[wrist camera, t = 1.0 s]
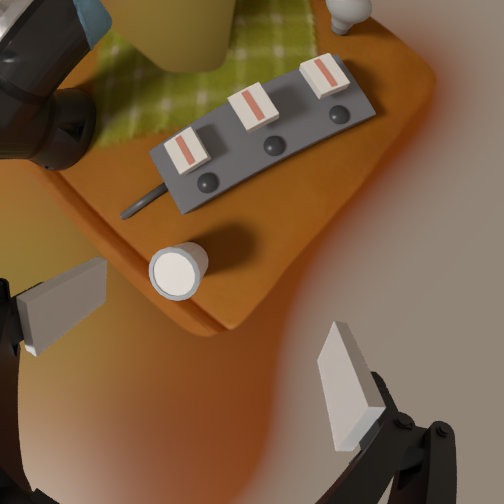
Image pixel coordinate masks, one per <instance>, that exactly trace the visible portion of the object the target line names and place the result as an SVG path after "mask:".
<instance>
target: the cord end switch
mask: <svg viewBox="0 0 504 504" xmlns="http://www.w3.org/2000/svg"><path fill="white" fill-rule="evenodd" d="M164 146H165V148H166V150H167V152H168V154H169V155H170V157H171V159H172V161H173V163H174V165H175V167H176V168H177V170H178V172H179V174H180V175H186V174H188V173H189V172H191V171H193V170H194V169H196V168H197V167H199V166H201V165H202V164H204V163H206V162H207V161H209V160H211V157H210V155H209V153H208V152H207V150H206V148H205V146H204V145H203V143H202V141H201V139H200V137H199V136H198V134H197V132H196V130H195V129H193V128H192V127H191V126H190V127H189V128H187V129H185V130H184V131H182V132H181V133H179V134H178V135H176V136H175V137H173V138H172V139H170V140H169V141H167V142H166V143H164Z"/></svg>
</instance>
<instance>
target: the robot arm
mask: <svg viewBox="0 0 504 504" xmlns="http://www.w3.org/2000/svg"><path fill="white" fill-rule="evenodd" d="M111 25H112V18H111V16H110V14H109V13H108V11H107V10H106V9H105V7H104V6H103V4H102V3H101V2H100V0H0V159H28V160H30V161H32V162H33V163H35V164H37V165H40V166H41V167H43V168H45V169H47V170H58V171H59V170H65V169H67V168H69V167H71V166H72V165H74V164H75V163H76V162H77V161H78V160H79V159H80V158H81V156H82V155H83V154H84V152H85V150H86V149H87V147H88V145H89V143H90V140H91V138H92V135H93V132H94V127H95V121H96V110H95V105H94V102H93V100H92V98H91V97H90V95H89V94H87V93H86V92H84V91H82V90H79V89H76V88H65V89H57V88H58V86H59V85H60V84H61V83H62V81H63V80H64V79H65V78H66V77H67V75H68V74H69V73H70V72H71V71H72V70H73V69H74V67H75V66H76V65H77V64H78V63H79V62H80V61H81V60H82V59H83V58H84V57H85V56H86V55H87V53H88V52H89V51H92V50H93V48H94V46H95V45H96V44H97V43H98V41H99V40H100V39H101V38H102V37H103V36H104V35H105V34H106V33H107V32H108V31H109V30H110V28H111ZM106 270H107V260H106V259H103V258H100V257H95V258H93V259H91V260H89V261H86V262H84V263H82V264H80V265H78V266H76V267H74V268H72V269H70V270H68V271H66V272H63V273H61V274H59V275H57V276H55V277H53V278H51V279H49V280H47V281H45V282H41V283H39V284H37V285H35V286H33V287H31V288H29V289H28V290H25V291H23V292H21V293H19V294H17V295H15V296H13V297H12V298H11V296H10V289H9V282H8V281H7V280H6V279H3V278H0V504H59V503H58V502H56V501H55V500H53V499H52V498H50V497H49V496H47V495H46V494H45V493H43V492H42V491H40V490H39V489H38V488H36V490H35V491H34V492H33V491H32V489H31V486H30V484H29V482H28V480H27V478H26V476H25V473H24V470H23V465H22V458H21V450H20V441H19V428H18V373H19V360H20V350H21V348H20V344H19V342H21V341H22V340H24V342H25V347H26V350H27V351H29V352H31V353H32V354H33V355H35V356H36V357H37V356H38V355H39V354H41V353H42V352H43V351H44V350H45V349H47V348H48V347H49V346H50V345H51V344H53V343H54V342H55V341H56V340H58V339H59V338H60V337H61V336H63V335H64V334H65V333H66V332H67V331H69V330H70V329H71V328H72V327H74V326H75V325H76V324H77V323H79V322H80V321H81V320H83V319H84V318H85V317H86V316H88V315H89V314H90V313H92V312H93V311H94V310H95V309H97V308H98V307H99V306H101V305H102V304H103V303H105V298H106V296H105V295H106ZM317 362H318V367H319V371H320V376H321V380H322V385H323V389H324V394H325V399H326V404H327V409H328V414H329V419H330V424H331V429H332V434H333V440H334V444H335V450H336V451H353V449H354V448H355V447H356V446H357V445H358V443H359V444H360V447H361V450H360V452H359V453H358V454H357V455H356V456H355V457H354V458H353V460H351V462H350V463H349V466H348V467H347V468H346V470H345V471H344V472H343V473H342V474H341V475H340V477H339V478H338V479H337V480H336V481H335V483H334V484H333V485H332V486H331V487H330V488H329V490H327V492H326V493H325V494H324V495H323V496H322V497H321V498H320V499H319V500H318V501H317V502H316V503H315V504H377V503H378V502H379V500H380V498H381V497H382V495H383V493H384V492H385V490H386V488H387V487H388V485H389V483H390V481H391V479H392V478H393V476H394V478H393V483H392V487H391V491H390V495H389V499H388V503H387V504H456V493H457V490H456V489H457V466H456V447H455V436H454V435H455V434H454V431H453V429H452V428H451V426H450V425H448V424H447V423H445V422H442V421H435V422H433V423H432V425H431V426H430V427H429V428H428V429H427V428H422V427H418V426H416V425H415V423H414V421H413V419H412V418H411V417H410V416H408V415H407V414H405V413H402V412H398V409H397V407H396V405H395V403H394V401H393V399H392V397H391V395H390V394H389V391H388V389H387V388H386V384H385V382H384V381H383V379H382V378H381V377H380V376H379V375H378V374H377V373H376V372H371V371H370V370H369V368H368V366H367V364H366V362H365V360H364V358H363V355H362V353H361V351H360V349H359V347H358V345H357V343H356V341H355V339H354V337H353V335H352V333H351V331H350V329H349V327H348V325H347V323H343V322H338V321H334V323H333V325H332V327H331V330H330V332H329V335H328V337H327V339H326V342H325V344H324V346H323V349H322V351H321V353H320V356H319V358H318V360H317Z"/></svg>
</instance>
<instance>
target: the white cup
mask: <svg viewBox="0 0 504 504" xmlns="http://www.w3.org/2000/svg"><path fill="white" fill-rule="evenodd" d="M207 268H208V257H207V254H206V252H205V250H204V249H203V248H202V247H201V246H200V245H198V244H196V243H193V242H185V243H182V244H178V245H175V246H171V247H168V248H165V249H162V250H159V251H158V252H157V253H156V254H155V255H154V256H153V257H152V260H151V262H150V265H149V277H150V280H151V282H152V285H153V287H154V288H155V289H156V290H157V291H158V293H159V294H161V295H162V296H164V297H166V298H167V299H171V300H176V301H179V300H184V299H188V298H189V297H190V296H192V295H193V294H194V293H195V292H196V290H197V288H198V286H199V284H200V282H201V280H202V278H203V276H204V274H205V272H206V270H207Z"/></svg>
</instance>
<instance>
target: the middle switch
mask: <svg viewBox="0 0 504 504" xmlns="http://www.w3.org/2000/svg"><path fill="white" fill-rule="evenodd" d="M227 99H228V100H229V102H230V104H231V106H232V107H233V109H234V110H235V112H236V114H237V115H238V117H239V119H240V120H241V122H242V124H243V125H244V127H245V128H246V130H247V132H248V134H249V133H251V132H253V131H255V130H257V129H259V128H261V127H263V126H264V125H266V124H268V123H270V122H272V121H274V120H276V119H278V118H279V113H278V111H277V109H276V108H275V106H274V105H273V103H272V102H271V100H270V99H269V97H268V95H267V94H266V92H265V91H264V89H263V88H262V86H261V85H260V83H259V82H257V83H255V84H253V85H251V86H249V87H247V88H245V89H243V90H241V91H239V92H237V93H236V94H234V95H232V96H230V97H228V98H227Z"/></svg>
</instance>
